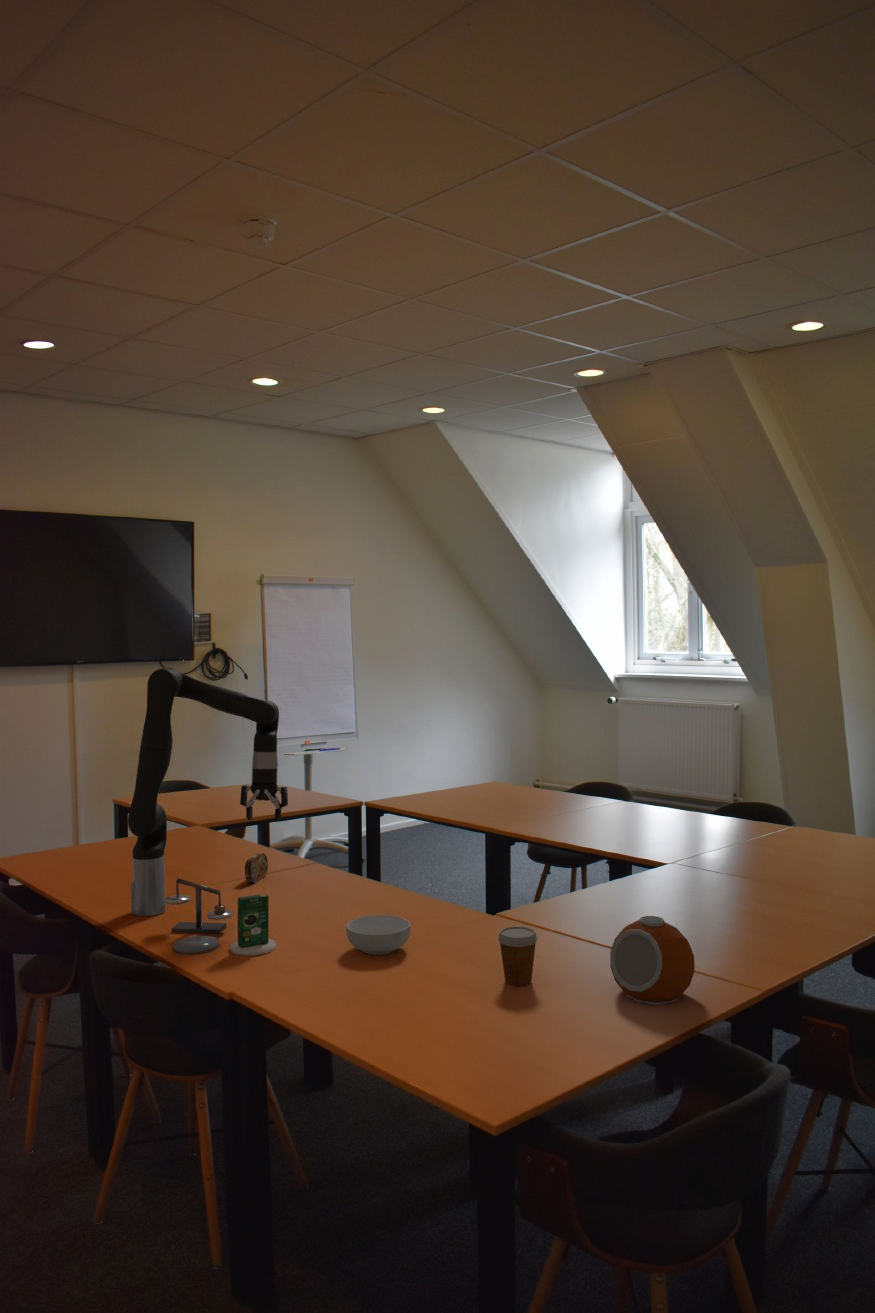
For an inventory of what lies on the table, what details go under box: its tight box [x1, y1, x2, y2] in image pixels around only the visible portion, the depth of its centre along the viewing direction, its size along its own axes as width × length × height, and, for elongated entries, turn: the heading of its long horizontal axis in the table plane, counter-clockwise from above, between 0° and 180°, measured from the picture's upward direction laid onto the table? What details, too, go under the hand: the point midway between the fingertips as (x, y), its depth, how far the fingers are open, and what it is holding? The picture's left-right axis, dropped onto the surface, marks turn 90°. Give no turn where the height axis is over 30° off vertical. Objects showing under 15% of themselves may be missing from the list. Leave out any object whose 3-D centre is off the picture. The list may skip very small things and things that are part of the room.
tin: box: [244, 852, 269, 884], centre depth 324 cm, size 15×3×8 cm, turn 168°
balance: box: [165, 878, 233, 935], centre depth 269 cm, size 20×7×15 cm, turn 82°
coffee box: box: [237, 893, 270, 948], centre depth 252 cm, size 8×3×13 cm, turn 120°
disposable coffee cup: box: [497, 925, 538, 987], centre depth 225 cm, size 10×10×12 cm
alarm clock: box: [609, 915, 696, 1005], centre depth 216 cm, size 19×18×17 cm
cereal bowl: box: [346, 914, 411, 956], centre depth 249 cm, size 17×17×7 cm
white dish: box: [229, 938, 277, 957], centre depth 252 cm, size 12×12×1 cm
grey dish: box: [173, 935, 220, 955], centre depth 254 cm, size 12×12×1 cm
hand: (263, 820), depth 284 cm, fingers open, 8 cm apart
